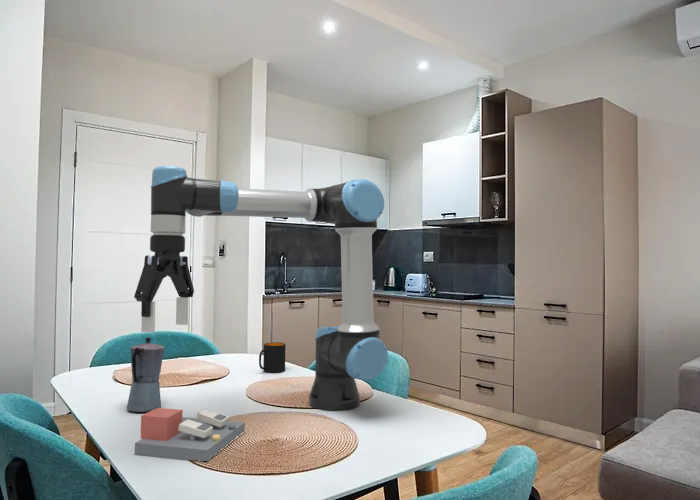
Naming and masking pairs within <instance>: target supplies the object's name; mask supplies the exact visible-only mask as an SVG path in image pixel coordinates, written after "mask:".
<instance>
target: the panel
mask: <svg viewBox="0 0 700 500" xmlns="http://www.w3.org/2000/svg"><path fill="white" fill-rule="evenodd" d="M196 418H197V417H196ZM196 418H194V417H185V416H183V417H182V422H184V421H186V420H187V419H188V420H192V421H195V422H198V423H202V424H205V425H208V426H212V427H213V430H212V433H211V434H210V435H208V436H207V437H205V438H202V437H198V436H195V435H192V434H188V433H185V432H181V433H179V434H177V435H176V436H174V437H172V438H171V439H169V440H167V441H162V440H152V439H141V438H140V440H138V441H136V442H135V443H134V455H136V456H145V457H154V458H163V459H172V460H173V459H175V460H183V461H191V460H200V461H208V460H209V459H210V458H212V457H213V456H214V455H215V454H216V453H218V452H219V451H220V450H221V449H222V448H224V447H225V446H226V445H227V444H229V443H230V442H231V441H232V440H234V439H235V438H236V437H237V436H239V435H240V434H241V433H242V432H244V431H246V430H245V426H246V424H245V422H243V421H242V422H241V421H231V420H230V421H229V420H228V422H227V423H226V424H225V425H223V426H222V427H218V426H215V425H212V424H209V423H207V422H204V421H201V420H198V419H196ZM224 449H225V448H224ZM219 453H220V452H219ZM219 453H218V454H219ZM214 457H215V456H214ZM214 457H213V458H214ZM213 458H212V459H213ZM210 460H211V459H210ZM210 460H209V461H210ZM200 461H199V462H200ZM209 461H208V462H209Z"/></svg>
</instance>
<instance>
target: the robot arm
mask: <svg viewBox="0 0 700 500" xmlns="http://www.w3.org/2000/svg"><path fill="white" fill-rule="evenodd" d="M150 190H151V191H150V233H152V235H150V237H149V241H150V242H149V251H150V252H151V253H152V252H153V253H154V254H153V255H152V254H151V255H147V254H146V255H145V256H144V262H143V263H144V264H143V268H142V271H141V274H140V277H139V280H138V284H137V287H136V290H135V292H134V296H133V297H134V299H135V300H136V302H141V307H140V309H141V312H140V313H141V330H140V331H141V333H155V332H156V331H155V330H156V301H154V299H155V296H156V294H157V292H158V290H159V288H160V287H161V284H162V282H163V280H164V279H165V278H166V277H169V278H170V280H171V282H172V284H173V286H174V288H175V290H176V293H177V295H178V297H176V299H175V300H176V308H175V325H177V326H178V325H180V326H187V325H188V324H189V323H188V322H189V298H192V297H194V293H195V290H194V289H195V288H194V285H193V281H192V276H191V272H190V268H189V259H188V256H186V255H185V256H184V255H183V256H182V255H181V254H180V253H184V252H185V251H186V237H185V236H184V235H185V234H186V215H187V214H188V215H190V216H193V217H198V218H201V217H203V216H208V217H210V216H211V217H212V216H213V217H215V216H216V217H217V216H218V217H219V216H222V217H251V218H252V217H255V218H258V217H261V218H264V217H265V218H295V219H296V218H297V219H299V218H301V219H305V221H307V222H311V223H313V222H316V223H325V224H331V225H332V224H334V230H335V232H336V233H337V234H338V235H339V236H340V257H341V258H340V262H341V263H340V264H341V265H340V266H341V267H340V268H341V269H340V270H341V271H340V272H341V301H342V302H341V304H342V306H341V307H342V308H341V309H342V313H341V314H342V323H341V324H340V325H337V326H335V325H334V326H320V327H318V328H317V329H316V333H315V373H314V374H315V377H314V381H313V383H312V387H311V390H310V392H309V396H308V404H309V406H310V407H312V408H315V409H320V410H325V411H345V410H351V409H355V408H358V407H359V405H360V404H361V396H360V392H359V390H358V389H359V388H358V385H357V383H356V380H361V381H362V380H363V381H369V380H372V379H374V378H377V376H379V375H380V374H381V373H382V371H383V370H384V369H385V367H386V365H387V362H388V358H389V355H388V354H389V353H388V348H387V346H386V344H385V343H384V342H383V341H382V340H381V339H380V327H379V326H378V324H377V323H375V321H374V318H375V317H374V284H373V283H374V282H373V281H374V280H373V278H374V275H373V237H372V236H373V234H374V233H375V232H376V231H377V230H378V219H379V218H380V217H381V215H382V214H383V212H384V208H385V199H384V195H383V193H382V192H383V191H381V189H380V187H378V186H377V184H375V183H374V182H373V181H372V180H369V179H365V178H364V179H363V178H362V179H361V178H359V179H352V180H349V181H346V182H342V183H339V184H338V183H337V184H334V185H331V186H327V187H321V188H320V187H319V188H311V187H310V188H307V189H306V190H305V191H298V190H297V191H296V190H280V189H279V190H277V189H276V190H275V189H273V190H272V189H259V188H258V189H257V188H256V189H254V188H253V189H252V188H240V187H239V188H238V185H237V184H236V183H235V182H233V181H227V180H226V181H225V180H223V179H221V180H218V179H217V180H215V179H205V178H204V179H203V178H193V177H189V176H188V173H187V169H185V168H184V167H180V166H176V165H160V166H159V165H158V166H156V167H155V168H153V170H152V175H151V186H150ZM186 213H187V214H186Z"/></svg>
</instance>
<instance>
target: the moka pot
mask: <svg viewBox="0 0 700 500" xmlns="http://www.w3.org/2000/svg"><path fill="white" fill-rule="evenodd" d="M151 341H152V338H151V337H145V343H142V344H137V345H132V346H131V347H130V362H131V365H130V366H131V377H132V378H131V380H132V382H131V384H130V385H131V386H130V391H129V395H128V400H127V404H126V410H127V411H129V412H136V413H144V412H146V413H148V412H150V411H152V410H154V409H156V408H162V401H161V399H162V398H161V390H160V389H161V388H160V381H159V380H160V374H161V372H162V363H163V360H164V359H163V358H164V353H165V346H164V345H159V344H155V343H151Z"/></svg>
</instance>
